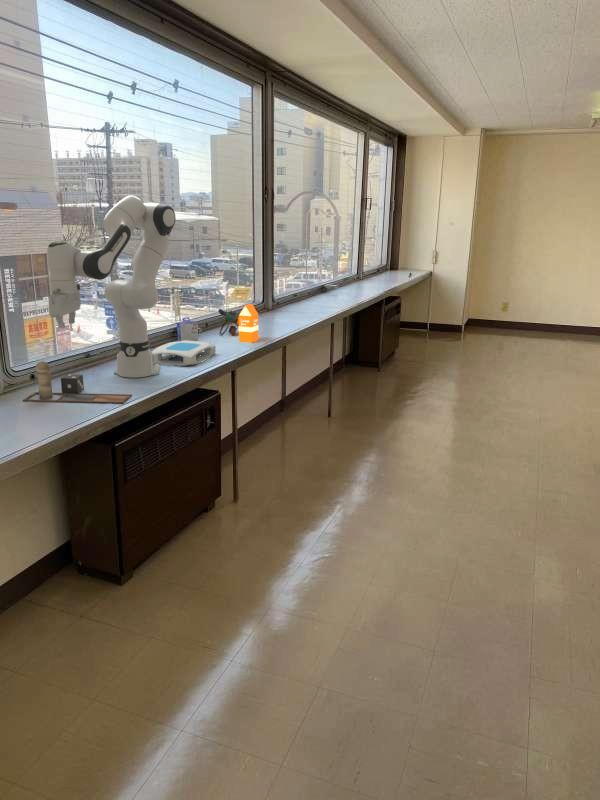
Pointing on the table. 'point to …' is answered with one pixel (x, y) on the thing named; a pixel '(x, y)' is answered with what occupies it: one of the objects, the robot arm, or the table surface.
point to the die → (72, 383)
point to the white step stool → (183, 352)
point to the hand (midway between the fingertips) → (66, 325)
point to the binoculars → (231, 319)
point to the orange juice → (248, 324)
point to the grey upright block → (187, 330)
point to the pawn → (44, 380)
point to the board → (86, 398)
